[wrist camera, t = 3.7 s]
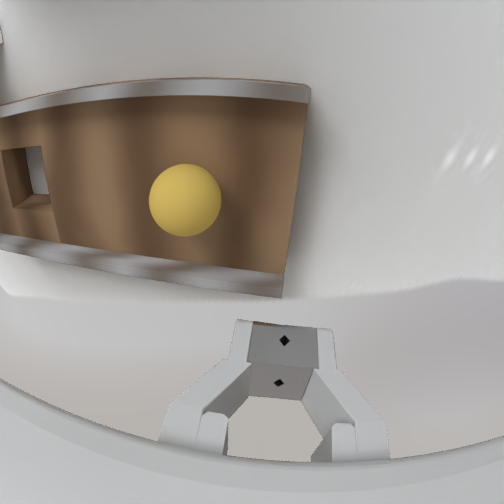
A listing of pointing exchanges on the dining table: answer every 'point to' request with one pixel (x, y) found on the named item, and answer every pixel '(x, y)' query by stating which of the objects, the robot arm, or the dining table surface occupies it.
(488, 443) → the robot arm
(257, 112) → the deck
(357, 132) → the dining table surface
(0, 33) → the milk
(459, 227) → the dining table surface
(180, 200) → the ball
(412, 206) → the dining table surface
